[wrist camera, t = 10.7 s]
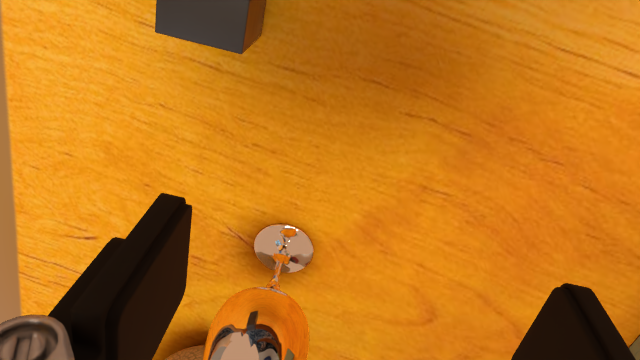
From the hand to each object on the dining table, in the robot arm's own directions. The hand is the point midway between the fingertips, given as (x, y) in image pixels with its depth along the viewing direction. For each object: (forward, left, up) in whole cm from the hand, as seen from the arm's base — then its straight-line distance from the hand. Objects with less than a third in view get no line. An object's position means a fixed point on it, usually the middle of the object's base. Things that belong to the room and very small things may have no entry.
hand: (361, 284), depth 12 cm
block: (+5, -8, -18) cm, 20 cm away
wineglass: (+11, +9, -18) cm, 23 cm away
